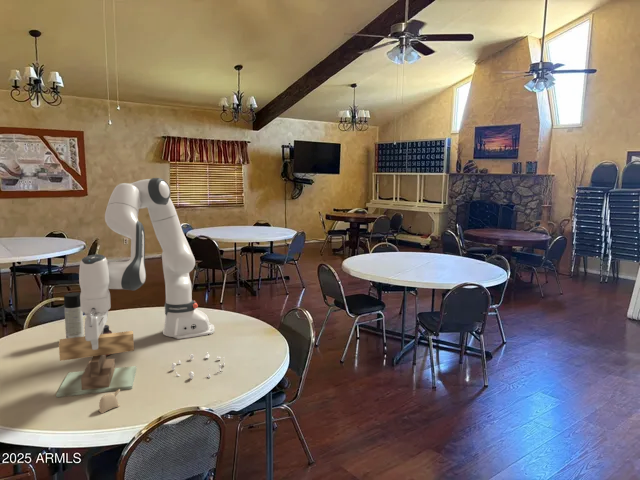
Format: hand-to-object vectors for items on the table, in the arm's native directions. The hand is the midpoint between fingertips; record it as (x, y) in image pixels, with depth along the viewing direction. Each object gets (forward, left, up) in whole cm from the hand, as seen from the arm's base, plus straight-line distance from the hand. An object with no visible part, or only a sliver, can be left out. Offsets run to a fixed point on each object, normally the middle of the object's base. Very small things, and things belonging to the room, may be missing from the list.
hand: (97, 344), depth 147 cm
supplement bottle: (+2, -25, -14) cm, 28 cm away
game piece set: (-33, -3, -14) cm, 36 cm away
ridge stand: (0, 0, -13) cm, 13 cm away
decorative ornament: (-6, +19, -14) cm, 24 cm away
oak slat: (0, 0, -3) cm, 3 cm away
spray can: (+16, -44, -14) cm, 49 cm away
